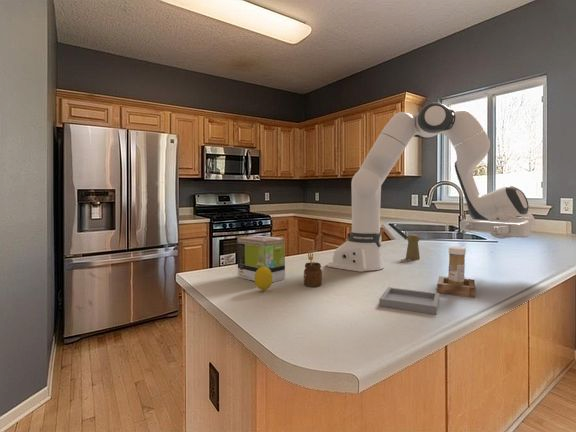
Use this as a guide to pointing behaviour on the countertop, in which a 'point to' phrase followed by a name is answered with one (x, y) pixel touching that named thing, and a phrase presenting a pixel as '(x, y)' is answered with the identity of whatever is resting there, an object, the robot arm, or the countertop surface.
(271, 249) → the tea box
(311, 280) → the utensil holder
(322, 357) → the countertop surface
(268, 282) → the lemon
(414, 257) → the olive tapered container
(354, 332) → the countertop surface
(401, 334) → the countertop surface
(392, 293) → the tray
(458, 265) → the sprinkles bottle
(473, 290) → the square wooden box
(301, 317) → the countertop surface
